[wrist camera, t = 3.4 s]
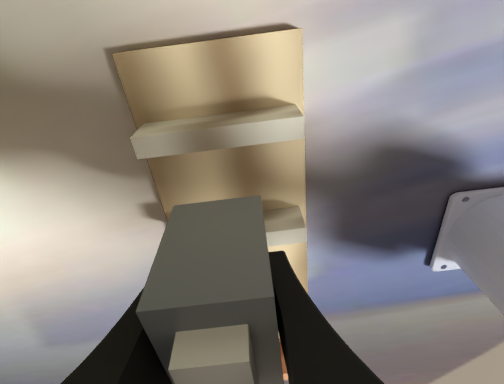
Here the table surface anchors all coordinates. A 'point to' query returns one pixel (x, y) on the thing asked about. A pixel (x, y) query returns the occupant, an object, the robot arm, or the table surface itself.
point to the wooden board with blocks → (226, 128)
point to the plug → (214, 296)
